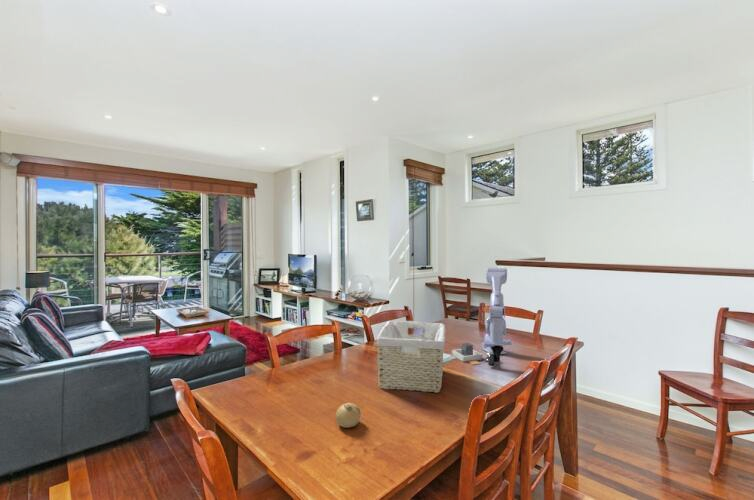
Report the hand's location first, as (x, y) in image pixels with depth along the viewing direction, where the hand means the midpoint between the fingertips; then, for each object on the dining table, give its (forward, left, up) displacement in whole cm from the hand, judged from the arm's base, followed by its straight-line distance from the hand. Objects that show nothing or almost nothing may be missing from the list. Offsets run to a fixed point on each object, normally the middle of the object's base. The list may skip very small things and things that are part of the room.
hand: (496, 361), depth 160 cm
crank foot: (-8, +3, -3) cm, 9 cm away
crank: (-5, 0, -2) cm, 5 cm away
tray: (-16, -5, -3) cm, 17 cm away
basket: (0, -41, -3) cm, 42 cm away
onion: (+27, -75, -3) cm, 80 cm away
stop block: (-16, -5, -2) cm, 17 cm away
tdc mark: (-8, -6, -3) cm, 11 cm away
